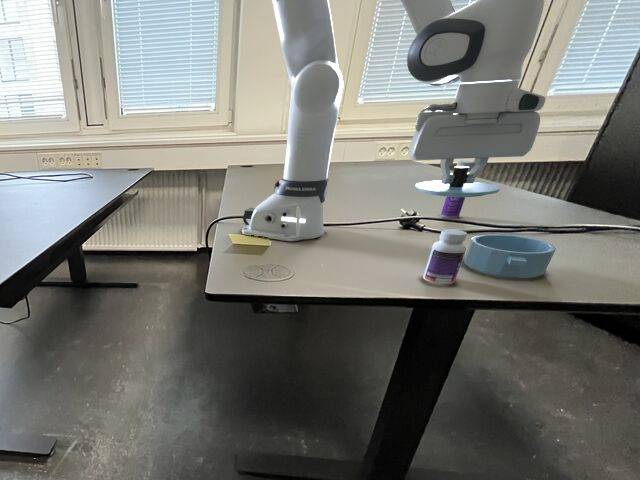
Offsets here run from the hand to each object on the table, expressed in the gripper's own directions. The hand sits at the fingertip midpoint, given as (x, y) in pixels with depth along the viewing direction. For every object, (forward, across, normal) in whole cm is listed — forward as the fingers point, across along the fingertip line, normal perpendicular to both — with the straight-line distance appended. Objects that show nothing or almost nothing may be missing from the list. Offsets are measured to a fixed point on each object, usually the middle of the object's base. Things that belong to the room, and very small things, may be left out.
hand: (456, 183), depth 81 cm
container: (+17, +21, +44) cm, 51 cm away
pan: (+16, +12, -3) cm, 21 cm away
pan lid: (+1, 0, 0) cm, 1 cm away
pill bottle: (+16, -3, -11) cm, 20 cm away
